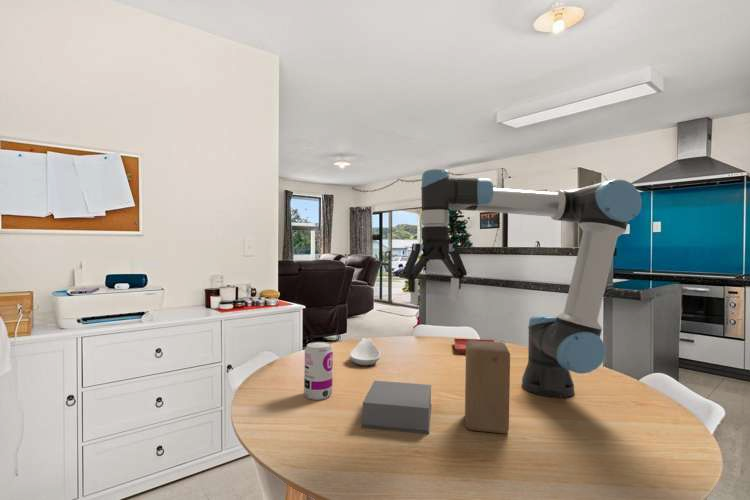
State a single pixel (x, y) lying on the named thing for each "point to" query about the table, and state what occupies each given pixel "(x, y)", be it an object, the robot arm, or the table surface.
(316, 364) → the supplement can
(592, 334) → the robot arm
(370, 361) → the spoon rest
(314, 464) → the table surface
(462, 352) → the plant saucer
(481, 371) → the wooden block
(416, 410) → the charcoal base block
